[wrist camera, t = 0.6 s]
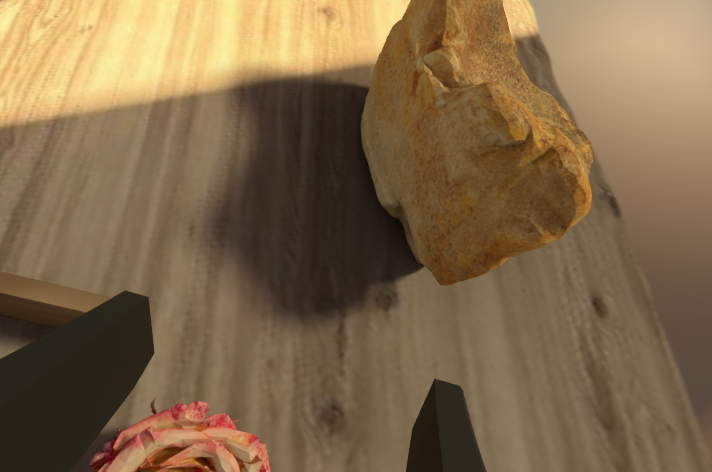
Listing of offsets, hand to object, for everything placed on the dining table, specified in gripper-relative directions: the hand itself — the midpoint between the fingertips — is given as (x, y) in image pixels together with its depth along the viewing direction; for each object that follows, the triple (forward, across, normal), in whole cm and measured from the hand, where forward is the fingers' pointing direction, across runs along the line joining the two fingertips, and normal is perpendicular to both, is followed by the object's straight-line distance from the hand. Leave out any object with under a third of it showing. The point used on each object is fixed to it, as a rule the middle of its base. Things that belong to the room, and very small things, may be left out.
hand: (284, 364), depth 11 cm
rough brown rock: (+28, -6, +8) cm, 30 cm away
